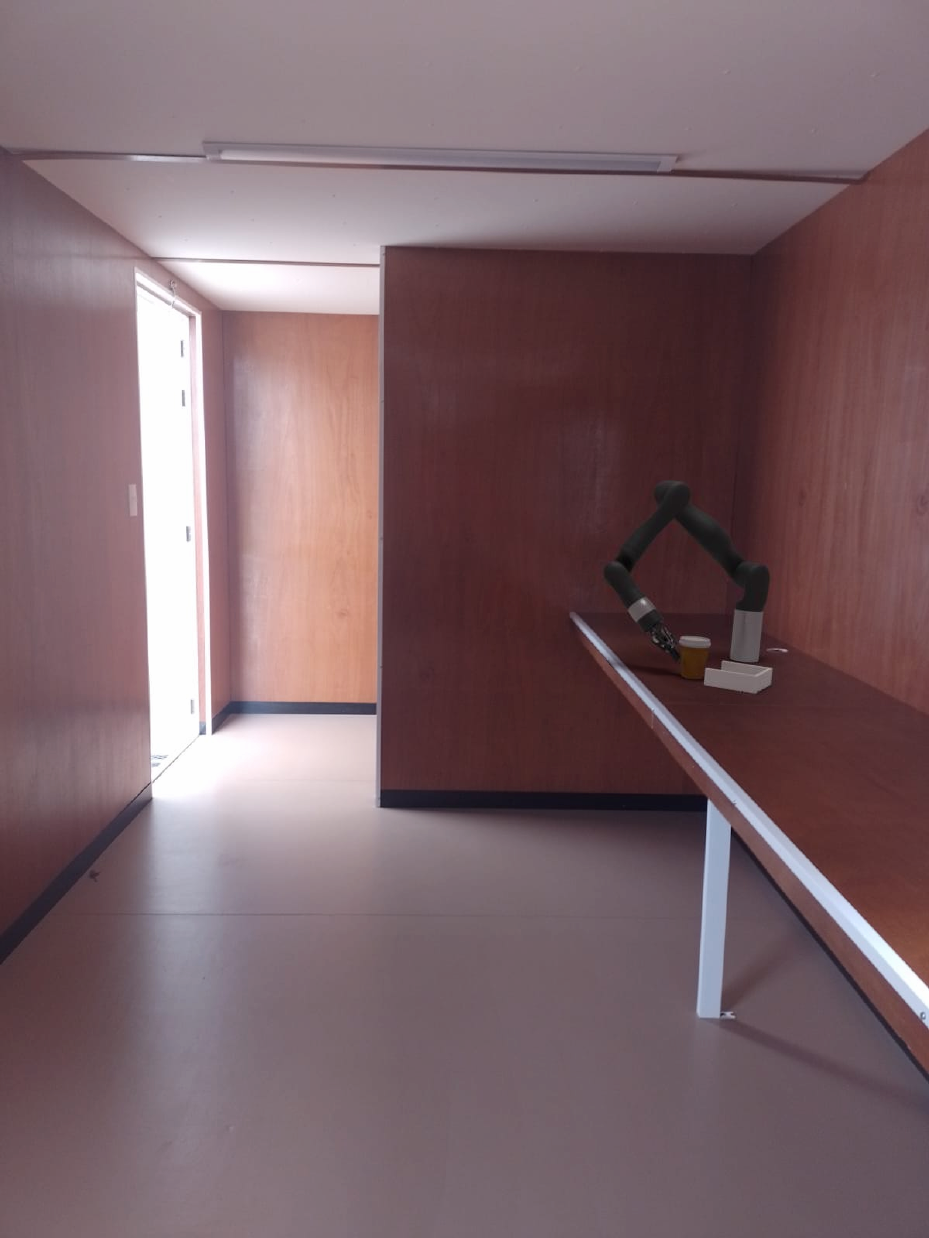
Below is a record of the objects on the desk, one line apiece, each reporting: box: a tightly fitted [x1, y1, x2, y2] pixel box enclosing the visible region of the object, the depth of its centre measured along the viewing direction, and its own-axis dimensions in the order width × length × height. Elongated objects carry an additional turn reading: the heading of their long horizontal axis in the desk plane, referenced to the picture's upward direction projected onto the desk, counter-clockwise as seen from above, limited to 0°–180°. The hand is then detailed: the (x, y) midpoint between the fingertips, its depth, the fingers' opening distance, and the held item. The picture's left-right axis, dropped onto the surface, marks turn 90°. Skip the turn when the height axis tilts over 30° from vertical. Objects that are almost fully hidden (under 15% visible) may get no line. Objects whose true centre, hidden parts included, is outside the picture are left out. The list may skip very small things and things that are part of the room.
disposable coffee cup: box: [678, 635, 712, 680], centre depth 272 cm, size 10×10×12 cm
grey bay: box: [703, 660, 773, 695], centre depth 264 cm, size 16×15×5 cm
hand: (679, 659), depth 274 cm, fingers closed
